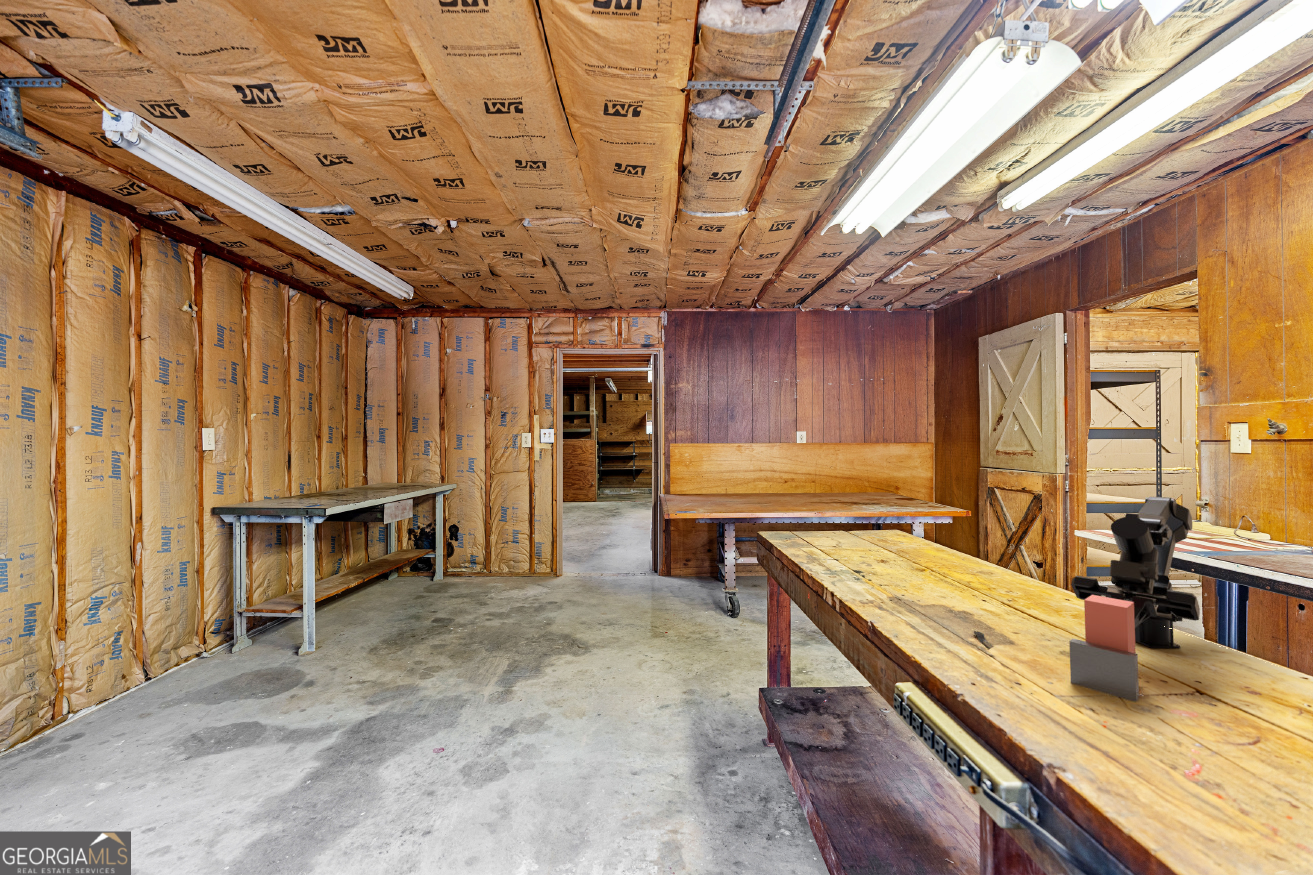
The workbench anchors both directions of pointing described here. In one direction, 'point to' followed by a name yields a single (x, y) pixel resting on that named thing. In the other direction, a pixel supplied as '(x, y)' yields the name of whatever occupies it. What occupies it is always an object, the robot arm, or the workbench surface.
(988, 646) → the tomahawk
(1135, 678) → the plate
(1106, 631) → the red block on plate
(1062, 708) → the workbench surface
